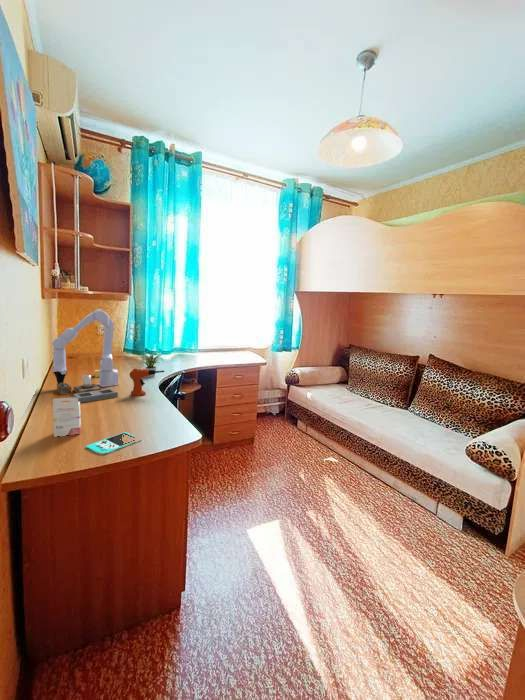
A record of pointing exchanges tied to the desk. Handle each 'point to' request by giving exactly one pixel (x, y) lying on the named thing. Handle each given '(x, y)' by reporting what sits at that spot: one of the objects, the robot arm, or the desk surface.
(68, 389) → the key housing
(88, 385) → the shiny metal cylinder
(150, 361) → the house plant
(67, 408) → the ink cartridge box
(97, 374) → the rubber stamp
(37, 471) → the desk surface
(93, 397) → the rack
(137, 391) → the toy drill
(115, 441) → the handheld game console
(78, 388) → the socket block
